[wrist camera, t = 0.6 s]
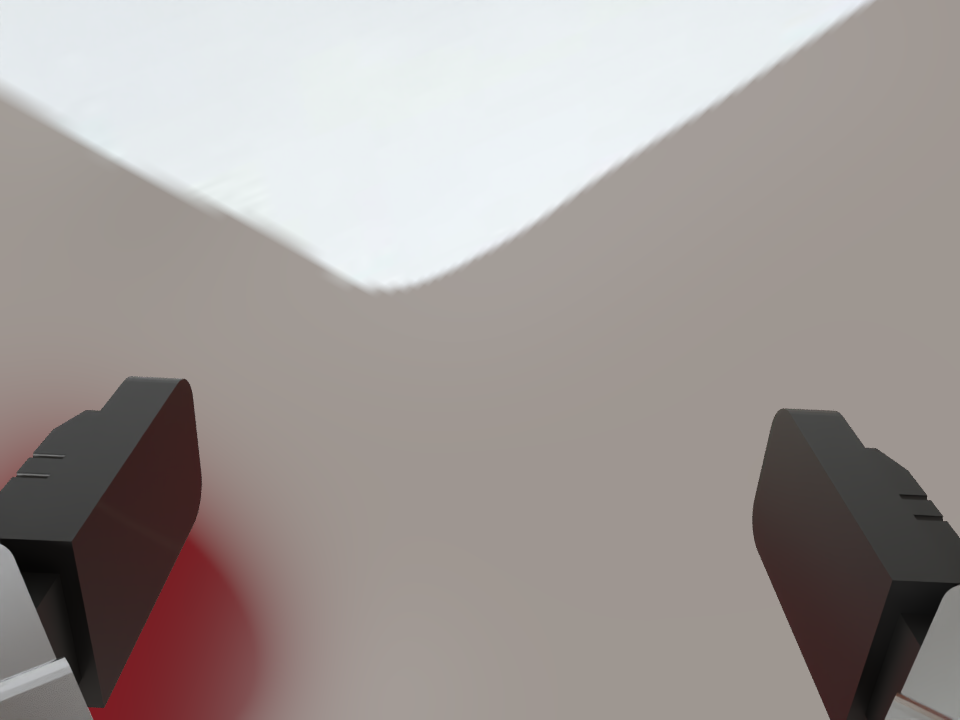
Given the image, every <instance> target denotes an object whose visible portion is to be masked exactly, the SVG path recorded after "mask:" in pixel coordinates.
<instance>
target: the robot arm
mask: <svg viewBox="0 0 960 720" xmlns="http://www.w3.org/2000/svg"><path fill="white" fill-rule="evenodd" d="M201 487H202V477H201V467H200V458H199V448H198V439H197V430H196V421H195V412H194V402H193V395H192V390H191V387H190V384H189V382H188V381H187V380H186V379H174V378H153V377H133V376H131V377H128V378H126V380H125V381H124V382H123V383H122V384H121V385H120V387H119V388H118V389H117V390H116V392H115V393H114V394H113V396H112V397H111V398H110V399H109V401H108V402H107V403H106V404H105V406H104V407H103V408H102V409H101V411H93V410H86V411H84V412H82V413H80V414H79V415H77V416H75V417H74V418H72V419H70V420H69V421H67V422H65V423H64V424H62V425H60V426H59V427H57V428H55V429H53V431H52V432H51V433H50V434H49V435H48V436H47V437H46V439H45V440H44V441H43V442H42V443H41V445H40V446H39V447H38V448H37V449H36V450H35V451H34V453H33V458H29V459H28V460H27V461H26V462H25V463H24V464H23V466H22V467H21V468H20V469H19V470H18V471H17V476H16V477H13V478H11V480H10V481H9V482H8V483H7V484H6V485H5V487H4V488H3V489H2V490H1V491H0V720H93V719H92V717H91V714H90V712H89V710H88V707H96V708H97V707H98V708H104V707H105V705H106V703H107V701H108V699H109V697H110V695H111V693H112V690H113V689H114V687H115V685H116V683H117V680H118V678H119V676H120V674H121V672H122V670H123V668H124V666H125V664H126V662H127V660H128V658H129V656H130V654H131V652H132V650H133V648H134V646H135V643H136V641H137V639H138V637H139V635H140V633H141V631H142V629H143V627H144V625H145V623H146V621H147V619H148V617H149V615H150V613H151V611H152V608H153V606H154V605H155V602H156V600H157V598H158V596H159V594H160V592H161V590H162V588H163V586H164V584H165V582H166V580H167V578H168V576H169V574H170V571H171V570H172V567H173V566H174V563H175V561H176V559H177V557H178V555H179V553H180V551H181V549H182V547H183V545H184V543H185V541H186V539H187V537H188V535H189V533H190V531H191V529H192V526H193V524H194V522H195V520H196V517H197V514H198V510H199V505H200V499H201ZM752 521H753V522H752V524H753V535H754V540H755V544H756V548H757V550H758V553H759V555H760V557H761V560H762V562H763V564H764V567H765V569H766V571H767V573H768V576H769V578H770V580H771V583H772V585H773V587H774V590H775V592H776V594H777V597H778V599H779V601H780V604H781V606H782V608H783V611H784V613H785V615H786V618H787V620H788V622H789V625H790V627H791V629H792V632H793V634H794V636H795V639H796V641H797V643H798V646H799V648H800V650H801V652H802V655H803V657H804V659H805V662H806V664H807V667H808V669H809V671H810V673H811V676H812V678H813V680H814V683H815V685H816V687H817V690H818V692H819V694H820V697H821V699H822V701H823V703H824V706H825V708H826V711H827V713H828V715H829V718H830V720H960V538H959V536H958V535H957V534H956V533H955V531H954V530H953V529H952V527H951V526H950V525H949V523H948V522H947V521H943V516H942V514H941V513H940V512H939V510H938V509H937V508H936V507H935V505H934V504H933V502H932V501H931V500H927V495H926V493H925V492H924V491H923V489H922V488H921V487H920V486H919V484H918V483H917V482H916V480H915V479H914V478H913V476H912V475H911V474H910V472H909V471H908V470H906V469H905V468H904V467H902V466H901V465H899V464H898V463H896V462H895V461H893V460H892V459H891V458H889V457H888V456H886V455H885V454H884V453H882V452H881V451H879V450H878V449H876V448H865V447H864V445H863V444H862V443H861V441H860V440H859V438H858V437H857V436H856V434H855V433H854V431H853V430H852V429H851V427H850V426H849V425H848V423H847V422H846V420H845V419H844V417H843V416H842V415H841V414H840V413H839V412H837V411H825V410H804V409H780V410H779V411H778V412H777V413H776V415H775V417H774V419H773V422H772V426H771V430H770V434H769V438H768V443H767V447H766V451H765V456H764V460H763V465H762V469H761V473H760V478H759V482H758V487H757V491H756V495H755V500H754V505H753V516H752Z"/></svg>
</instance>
